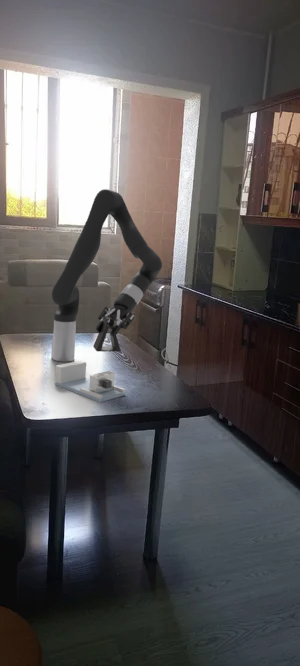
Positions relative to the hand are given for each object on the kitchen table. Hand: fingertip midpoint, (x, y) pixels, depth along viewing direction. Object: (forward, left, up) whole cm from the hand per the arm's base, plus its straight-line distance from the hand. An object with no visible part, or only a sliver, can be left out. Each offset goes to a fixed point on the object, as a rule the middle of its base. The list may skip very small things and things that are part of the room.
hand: (104, 333), depth 183 cm
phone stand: (0, +2, -6) cm, 7 cm away
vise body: (0, -7, -20) cm, 21 cm away
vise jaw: (+8, -7, -19) cm, 21 cm away
